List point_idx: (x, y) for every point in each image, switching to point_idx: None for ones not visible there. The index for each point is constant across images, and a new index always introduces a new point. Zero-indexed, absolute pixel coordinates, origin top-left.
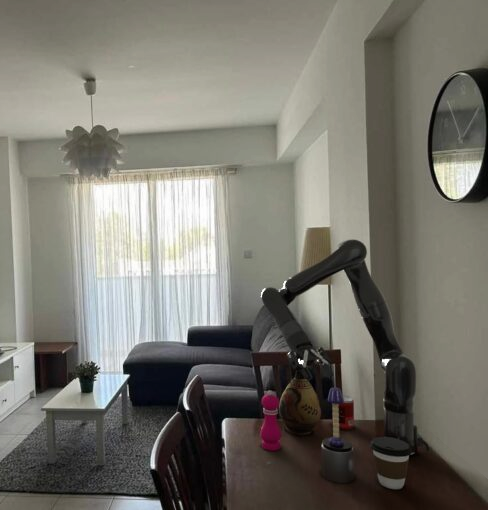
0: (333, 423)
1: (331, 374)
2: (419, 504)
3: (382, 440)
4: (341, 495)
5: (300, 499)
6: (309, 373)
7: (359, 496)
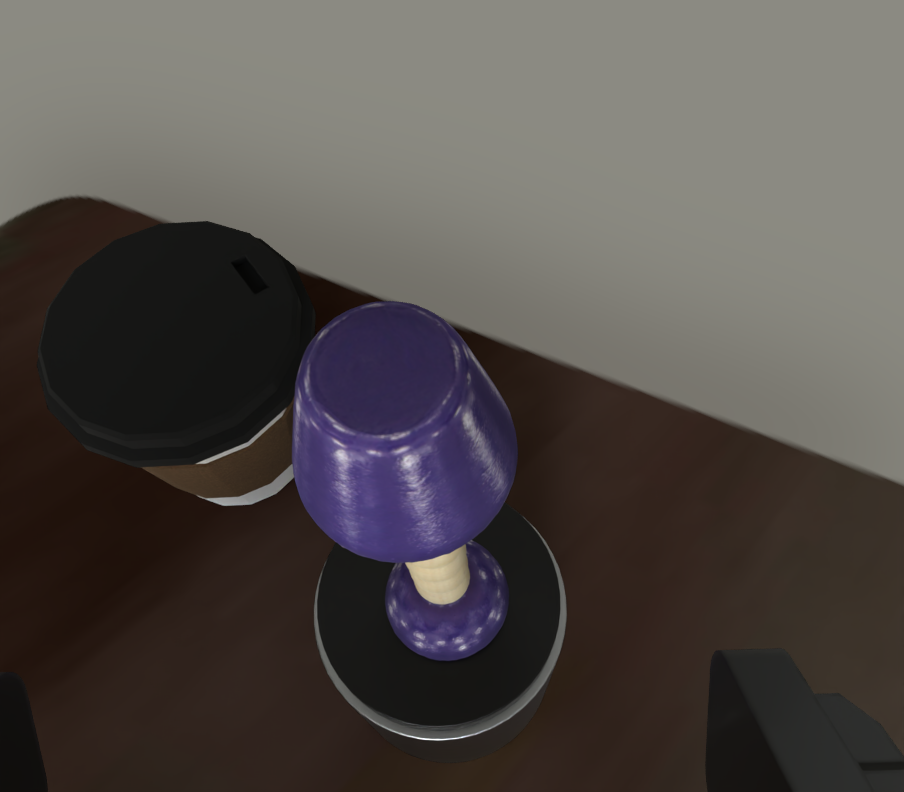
0: (464, 551)
1: (10, 677)
2: (311, 273)
3: (167, 376)
4: (602, 463)
5: (858, 517)
6: (805, 727)
7: (517, 421)
